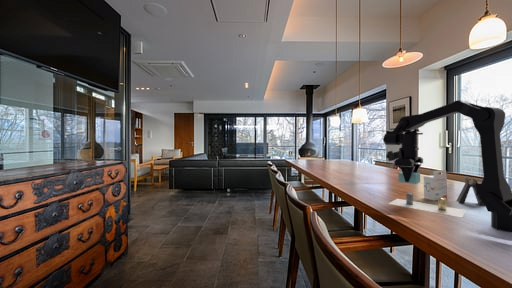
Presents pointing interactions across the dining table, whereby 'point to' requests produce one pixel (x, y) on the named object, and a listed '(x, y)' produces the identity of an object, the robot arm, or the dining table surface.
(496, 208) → the robot arm
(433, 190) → the ink cartridge box
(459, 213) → the board
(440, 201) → the cylinder
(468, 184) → the phone stand
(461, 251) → the dining table surface
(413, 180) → the collar
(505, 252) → the dining table surface
